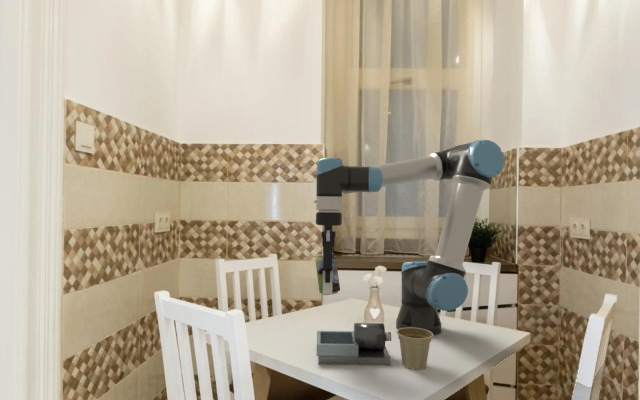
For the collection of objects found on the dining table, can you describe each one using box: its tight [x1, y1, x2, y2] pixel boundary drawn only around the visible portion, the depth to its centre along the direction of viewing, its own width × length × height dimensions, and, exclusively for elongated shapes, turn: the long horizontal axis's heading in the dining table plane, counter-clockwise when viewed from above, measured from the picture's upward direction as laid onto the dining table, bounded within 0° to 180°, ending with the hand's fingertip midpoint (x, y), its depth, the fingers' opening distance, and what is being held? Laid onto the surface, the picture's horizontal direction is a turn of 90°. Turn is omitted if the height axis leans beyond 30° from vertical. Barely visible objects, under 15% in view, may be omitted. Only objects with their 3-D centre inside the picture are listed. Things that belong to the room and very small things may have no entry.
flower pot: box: [396, 327, 434, 371], centre depth 108 cm, size 9×9×9 cm
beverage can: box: [315, 253, 341, 296], centre depth 119 cm, size 6×7×12 cm
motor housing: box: [316, 322, 392, 366], centre depth 114 cm, size 20×13×9 cm, turn 90°
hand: (327, 291), depth 119 cm, fingers closed on beverage can, 6 cm apart
